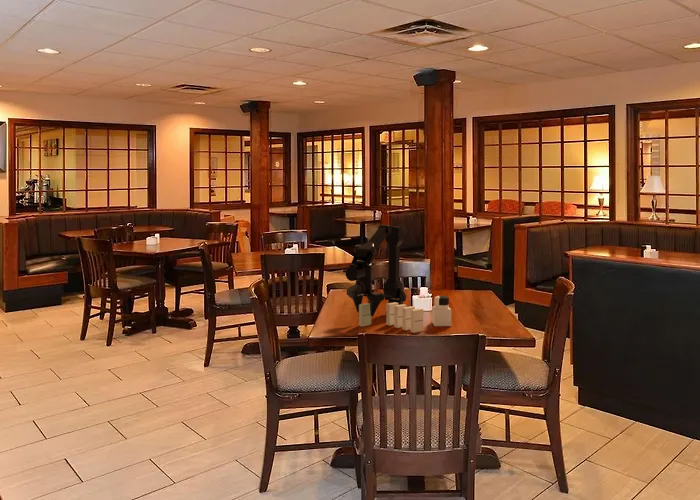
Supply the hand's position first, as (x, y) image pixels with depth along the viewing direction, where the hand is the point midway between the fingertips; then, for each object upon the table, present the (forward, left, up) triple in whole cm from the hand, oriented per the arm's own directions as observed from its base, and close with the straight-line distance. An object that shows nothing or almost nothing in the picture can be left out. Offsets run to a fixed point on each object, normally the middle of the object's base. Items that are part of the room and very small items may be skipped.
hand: (365, 314), depth 262 cm
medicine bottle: (-26, +19, -5) cm, 33 cm away
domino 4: (-10, +21, -5) cm, 24 cm away
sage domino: (0, 0, -5) cm, 5 cm away
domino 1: (-10, +6, -5) cm, 12 cm away
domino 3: (-10, +16, -5) cm, 19 cm away
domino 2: (-10, +11, -5) cm, 16 cm away
